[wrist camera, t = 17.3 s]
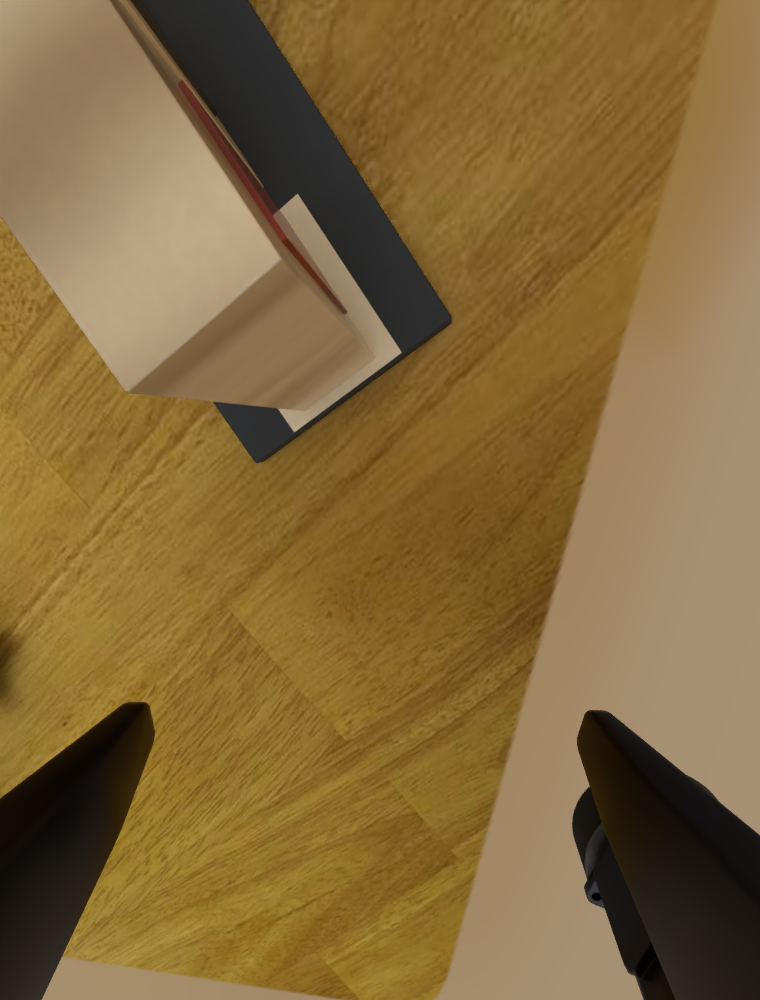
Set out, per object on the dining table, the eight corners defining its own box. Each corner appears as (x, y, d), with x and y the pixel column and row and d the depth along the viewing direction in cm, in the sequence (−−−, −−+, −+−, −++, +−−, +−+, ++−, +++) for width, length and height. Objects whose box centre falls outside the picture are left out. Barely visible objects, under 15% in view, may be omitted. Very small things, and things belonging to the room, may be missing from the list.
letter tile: (378, 356, 18) (288, 253, 7) (301, 413, 19) (120, 397, 8) (285, 215, 17) (41, -119, 7) (211, 281, 18) (-108, 79, 8)
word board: (452, 322, 18) (452, 317, 17) (262, 462, 20) (254, 464, 20) (91, -239, 16) (71, -277, 15) (-72, -15, 19) (-96, -37, 18)
